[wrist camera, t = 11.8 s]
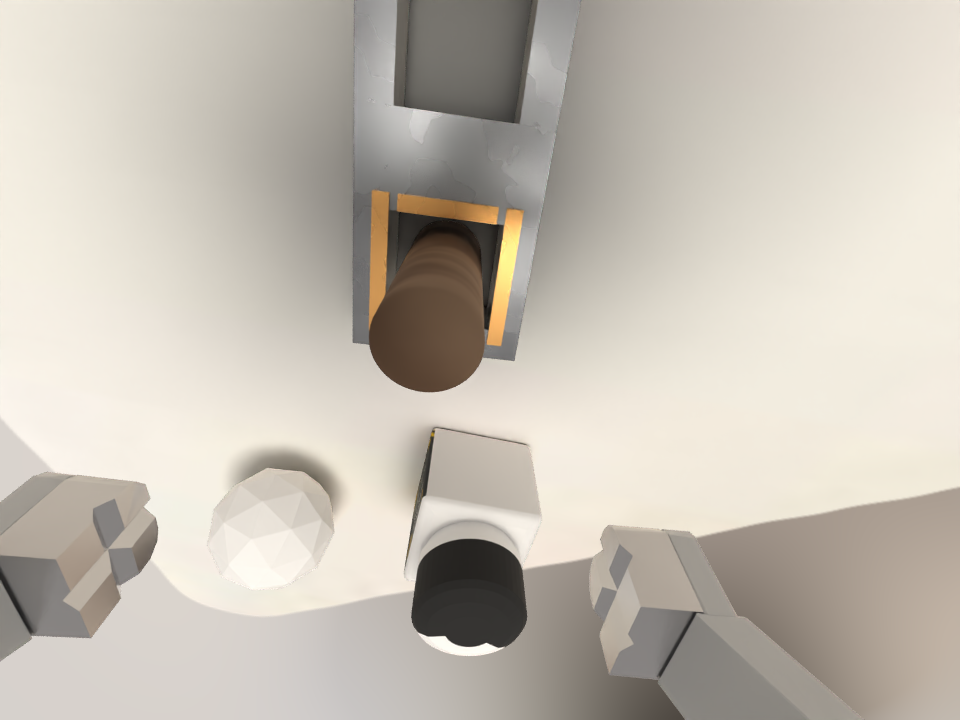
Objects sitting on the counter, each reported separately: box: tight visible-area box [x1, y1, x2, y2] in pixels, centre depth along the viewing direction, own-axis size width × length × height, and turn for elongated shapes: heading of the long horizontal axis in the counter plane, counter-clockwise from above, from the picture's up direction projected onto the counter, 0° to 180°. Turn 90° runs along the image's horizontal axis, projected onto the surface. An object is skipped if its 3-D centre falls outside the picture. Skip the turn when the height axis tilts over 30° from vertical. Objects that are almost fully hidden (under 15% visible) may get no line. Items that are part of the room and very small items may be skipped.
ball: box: [207, 468, 334, 590], centre depth 31 cm, size 8×8×8 cm
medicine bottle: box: [404, 428, 542, 656], centre depth 28 cm, size 7×7×12 cm
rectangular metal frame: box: [353, 0, 581, 361], centre depth 20 cm, size 29×9×4 cm, turn 172°
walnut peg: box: [369, 220, 485, 392], centre depth 21 cm, size 4×4×12 cm
